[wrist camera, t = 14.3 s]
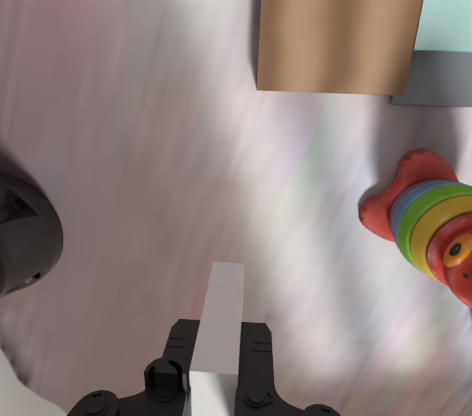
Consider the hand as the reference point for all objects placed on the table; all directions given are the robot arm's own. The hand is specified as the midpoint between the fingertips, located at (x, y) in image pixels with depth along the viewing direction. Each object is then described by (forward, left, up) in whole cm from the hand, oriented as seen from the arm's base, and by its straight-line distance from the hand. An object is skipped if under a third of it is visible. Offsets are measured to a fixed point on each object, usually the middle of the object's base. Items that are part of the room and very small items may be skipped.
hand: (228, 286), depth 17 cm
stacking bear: (+20, -4, -25) cm, 32 cm away
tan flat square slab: (+8, +15, -24) cm, 30 cm away
